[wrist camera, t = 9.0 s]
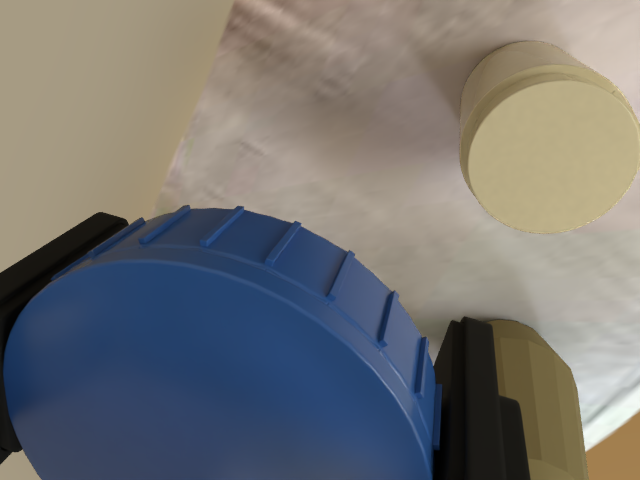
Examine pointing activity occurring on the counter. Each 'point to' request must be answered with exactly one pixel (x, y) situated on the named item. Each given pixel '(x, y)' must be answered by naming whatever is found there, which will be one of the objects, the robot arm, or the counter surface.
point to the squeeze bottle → (541, 401)
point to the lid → (221, 360)
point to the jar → (545, 139)
